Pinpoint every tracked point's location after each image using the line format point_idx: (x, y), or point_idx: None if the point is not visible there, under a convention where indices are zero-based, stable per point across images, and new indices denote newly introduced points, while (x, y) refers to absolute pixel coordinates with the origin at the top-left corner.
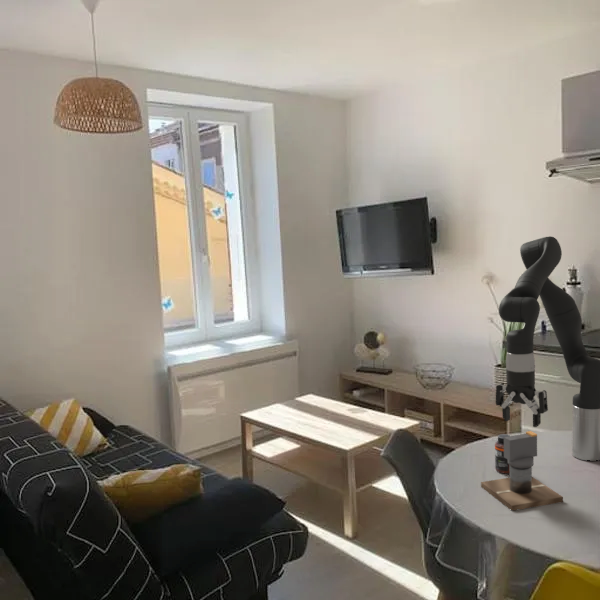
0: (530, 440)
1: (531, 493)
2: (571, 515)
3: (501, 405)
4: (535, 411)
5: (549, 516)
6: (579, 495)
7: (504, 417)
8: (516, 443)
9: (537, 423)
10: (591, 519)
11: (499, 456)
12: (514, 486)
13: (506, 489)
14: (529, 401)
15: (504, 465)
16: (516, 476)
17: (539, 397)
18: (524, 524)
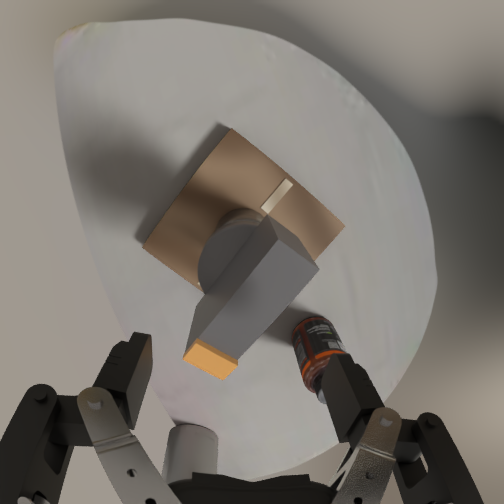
0: (204, 322)
1: (210, 225)
2: (111, 187)
3: (399, 424)
4: (92, 406)
5: (147, 153)
6: (131, 292)
7: (353, 364)
8: (250, 264)
9: (118, 349)
10: (78, 194)
11: (332, 339)
12: (251, 212)
13: (274, 215)
14: (115, 489)
15: (314, 328)
16: (245, 218)
17: (9, 497)
18: (184, 83)
